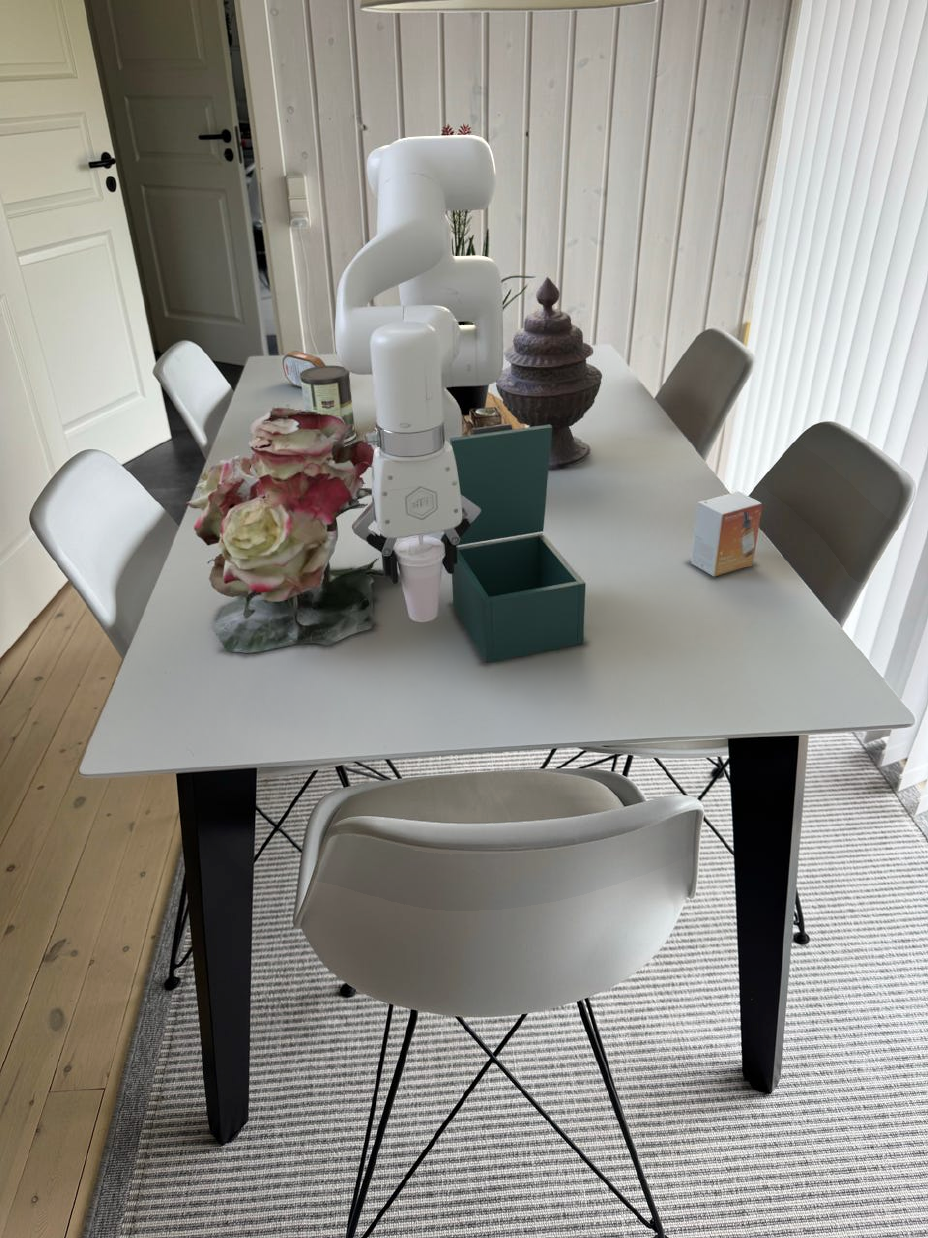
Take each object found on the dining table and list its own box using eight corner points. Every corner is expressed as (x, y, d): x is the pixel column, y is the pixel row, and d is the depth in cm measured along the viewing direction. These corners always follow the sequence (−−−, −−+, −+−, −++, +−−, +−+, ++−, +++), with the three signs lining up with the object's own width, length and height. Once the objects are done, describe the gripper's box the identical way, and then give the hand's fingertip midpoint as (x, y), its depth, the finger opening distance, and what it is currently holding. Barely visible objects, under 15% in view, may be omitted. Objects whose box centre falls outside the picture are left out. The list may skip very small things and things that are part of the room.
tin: (332, 391, 222) (328, 357, 217) (322, 395, 220) (318, 360, 215) (292, 381, 230) (288, 347, 226) (283, 384, 228) (278, 350, 224)
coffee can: (342, 425, 200) (335, 362, 193) (364, 438, 193) (358, 372, 186) (299, 436, 195) (291, 371, 188) (321, 449, 188) (312, 382, 181)
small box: (713, 578, 136) (721, 514, 131) (689, 563, 141) (696, 501, 135) (754, 565, 139) (763, 502, 134) (729, 551, 144) (737, 489, 138)
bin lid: (552, 427, 119) (538, 408, 123) (451, 440, 116) (440, 421, 120) (543, 531, 130) (530, 511, 134) (451, 546, 127) (440, 525, 131)
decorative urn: (594, 431, 189) (594, 257, 169) (609, 475, 173) (611, 287, 153) (497, 439, 190) (486, 267, 170) (503, 484, 173) (491, 298, 153)
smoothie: (456, 606, 117) (452, 508, 109) (434, 632, 112) (429, 531, 104) (412, 597, 119) (406, 500, 112) (389, 621, 114) (380, 521, 107)
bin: (583, 643, 122) (585, 583, 117) (486, 663, 119) (484, 601, 114) (541, 589, 135) (542, 532, 130) (453, 605, 132) (450, 547, 127)
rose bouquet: (222, 570, 144) (185, 384, 128) (405, 567, 142) (390, 379, 127) (173, 661, 122) (121, 450, 106) (388, 659, 121) (368, 444, 105)
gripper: (341, 459, 98) (358, 601, 107) (494, 437, 101) (496, 576, 111) (330, 435, 104) (346, 571, 113) (474, 415, 108) (478, 549, 117)
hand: (420, 572), depth 112 cm, fingers closed on smoothie, 6 cm apart
